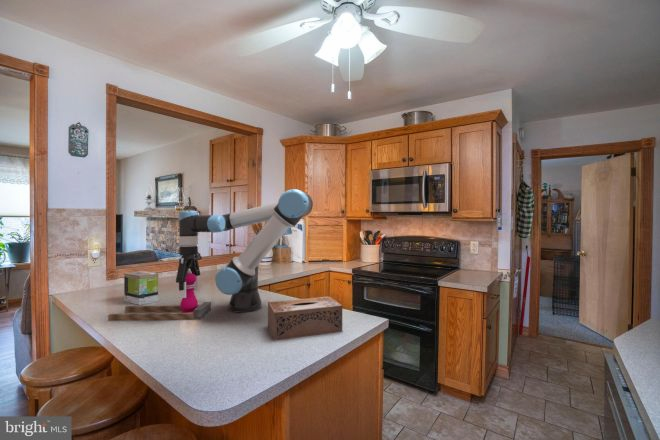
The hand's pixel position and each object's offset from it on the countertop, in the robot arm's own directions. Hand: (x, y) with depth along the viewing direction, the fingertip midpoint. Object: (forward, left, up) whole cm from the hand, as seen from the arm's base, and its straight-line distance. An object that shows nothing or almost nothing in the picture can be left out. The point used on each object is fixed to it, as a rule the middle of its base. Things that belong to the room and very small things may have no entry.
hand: (189, 293), depth 139 cm
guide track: (+13, 0, -9) cm, 16 cm away
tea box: (+34, -24, -10) cm, 42 cm away
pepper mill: (0, 0, -10) cm, 10 cm away
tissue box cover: (-52, +19, -10) cm, 56 cm away
